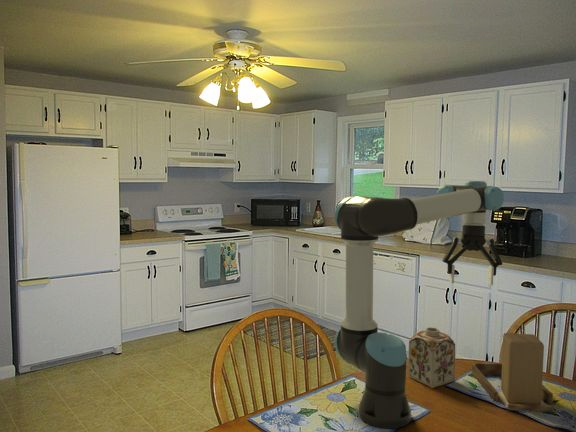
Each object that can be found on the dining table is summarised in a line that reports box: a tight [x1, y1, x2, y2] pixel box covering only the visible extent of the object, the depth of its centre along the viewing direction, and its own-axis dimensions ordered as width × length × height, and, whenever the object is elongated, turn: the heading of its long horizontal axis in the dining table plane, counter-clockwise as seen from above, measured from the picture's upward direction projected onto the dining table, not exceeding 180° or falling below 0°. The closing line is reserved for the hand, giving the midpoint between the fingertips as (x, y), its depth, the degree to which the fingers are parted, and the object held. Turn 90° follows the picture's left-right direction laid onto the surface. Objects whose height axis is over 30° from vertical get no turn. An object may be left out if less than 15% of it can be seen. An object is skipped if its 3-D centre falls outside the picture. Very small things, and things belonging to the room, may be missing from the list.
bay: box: [471, 362, 554, 413], centre depth 160 cm, size 18×28×4 cm, turn 176°
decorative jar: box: [407, 326, 456, 389], centre depth 169 cm, size 12×12×18 cm
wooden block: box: [500, 332, 545, 405], centre depth 153 cm, size 10×10×20 cm
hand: (471, 283), depth 172 cm, fingers open, 13 cm apart
